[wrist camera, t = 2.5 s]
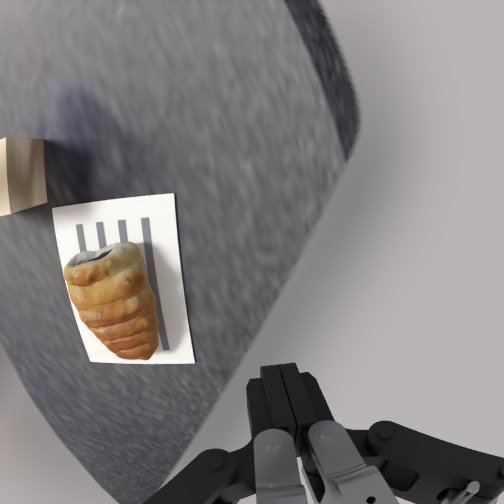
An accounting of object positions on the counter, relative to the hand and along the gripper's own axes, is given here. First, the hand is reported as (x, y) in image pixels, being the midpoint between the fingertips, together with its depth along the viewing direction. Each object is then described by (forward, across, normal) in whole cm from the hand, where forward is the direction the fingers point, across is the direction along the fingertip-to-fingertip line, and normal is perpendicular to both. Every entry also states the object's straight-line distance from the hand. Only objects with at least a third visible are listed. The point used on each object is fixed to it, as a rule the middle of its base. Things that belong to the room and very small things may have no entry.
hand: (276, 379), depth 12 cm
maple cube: (+10, +18, -10) cm, 23 cm away
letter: (+10, +10, 0) cm, 14 cm away
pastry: (+10, +10, 0) cm, 14 cm away
